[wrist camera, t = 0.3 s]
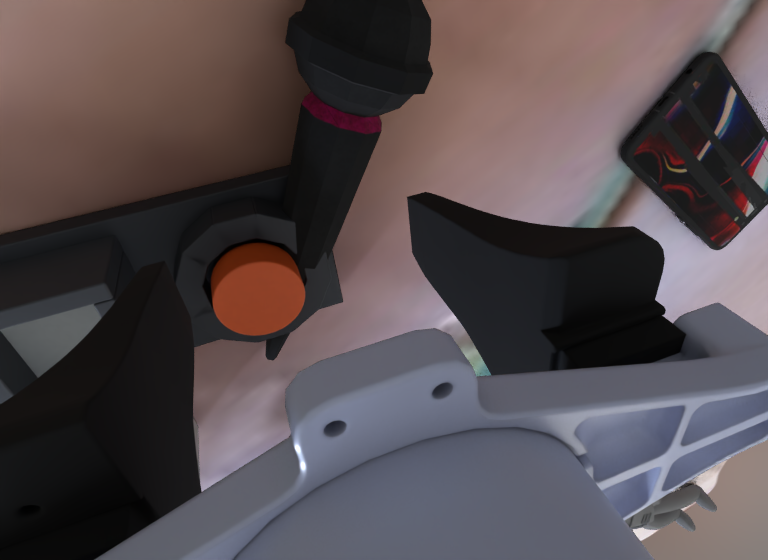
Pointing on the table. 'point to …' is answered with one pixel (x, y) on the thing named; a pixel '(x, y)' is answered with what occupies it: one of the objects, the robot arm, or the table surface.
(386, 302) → the table surface
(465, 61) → the table surface
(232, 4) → the table surface
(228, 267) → the power button
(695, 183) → the smartphone
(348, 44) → the microphone
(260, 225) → the adapter
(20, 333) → the socket
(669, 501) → the alien figure
